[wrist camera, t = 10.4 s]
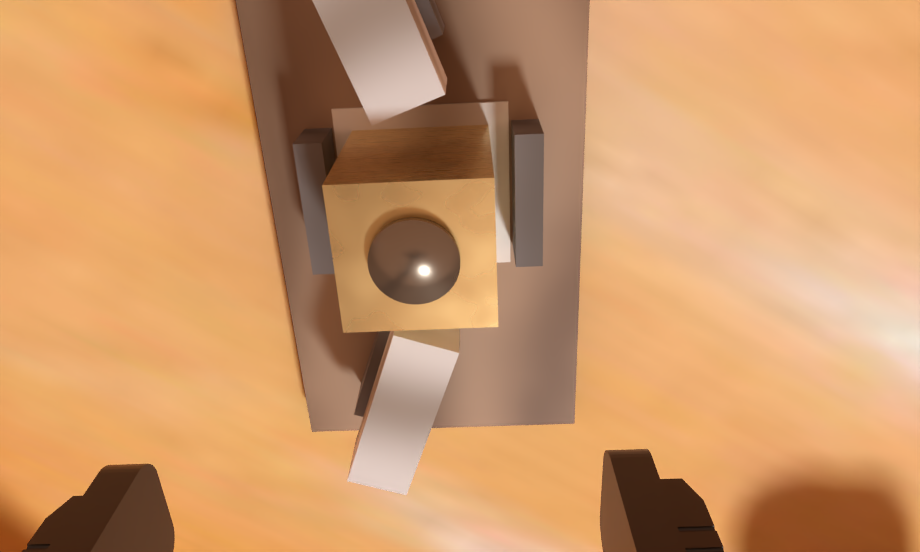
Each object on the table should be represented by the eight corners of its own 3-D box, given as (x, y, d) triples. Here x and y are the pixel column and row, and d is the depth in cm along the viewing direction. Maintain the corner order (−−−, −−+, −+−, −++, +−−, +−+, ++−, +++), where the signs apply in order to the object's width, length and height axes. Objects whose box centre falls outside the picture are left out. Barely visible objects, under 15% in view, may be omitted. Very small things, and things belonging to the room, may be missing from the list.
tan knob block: (367, 254, 28) (341, 337, 22) (352, 130, 26) (319, 188, 20) (491, 249, 28) (498, 331, 22) (488, 124, 25) (494, 181, 20)
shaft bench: (316, 415, 33) (289, 506, 28) (220, -151, 23) (148, -173, 18) (570, 407, 33) (590, 497, 28) (589, -171, 22) (626, -200, 17)
